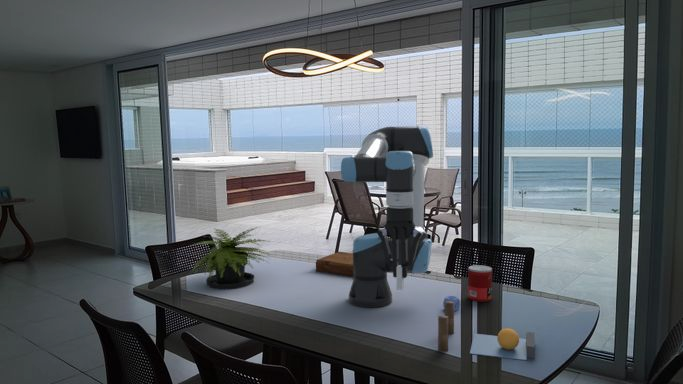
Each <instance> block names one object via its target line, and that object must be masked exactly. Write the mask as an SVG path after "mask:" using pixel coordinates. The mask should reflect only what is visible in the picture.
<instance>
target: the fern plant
mask: <svg viewBox="0 0 683 384" xmlns="http://www.w3.org/2000/svg"><path fill="white" fill-rule="evenodd" d="M259 228H260V227H255V228H250V229H246V231H241V232H240V233H239V234H238V235H235V236H234V237H231V236H230V233H229V232H228V231H225V230H222V229H220V228H214V229H213V230H214V234H217V236H216V237H214V236H205V235H204V238H205V237H208V238H211V239H213V240H206V241H205V240H203V241H200V242H197V243H192V244H190V245H189V247H192V246H196V245H198V246H199V245H206V246H207V245H209V244H210V245H211V244H212V245H215V246H214V247H212V248H209V249H206V250H205V248H204V250H201V251H195V252H193V253H192V254H191V255H194V256H193V257H191V259H193V258H196V254H197V258H199V257H201V258H200V260H197V261H196V262H194V263H193V264H191V265H190V266H189V269H191V268H192V267H193V266H194V267H193V268H192V271H191V272H190V273H189V275H190V274H192V273H193V271H194V270H195V272H194V273H193V275H195V274H196V273H197V272H198V270H199V268H200V269H202V268H203V267H205V269H204V275H206V274H207V272H208V277H207V278H206V286H207V287H209V288H210V289H215V290H235V289H241V288H246V287H248V286H251V285H252V284H254V282H255V275H254V274H252V273H250V272H246V271H245V269H246V266H249V267H250V268H251V269H252V270H253V269H254V265H252V263H251V262H250V260H253V261H255V262H257V263H258V264H260V261H262V262H266V263H267V264H270V262H268V261H267V260H265V259H264V258H267V259H268V260H269V259H270V260H271V258H269V257H268V256H272V254H271V253H268V251H266V250H264V249H260V248H259V247H246V246H245V247H244V246H241V245H245V244H250V243H251V244H255V245H257V246H260V244H259V243H258V242H266V243H267V242H268V243H271V241H270V240H266V239H259V238H254V239H252V238H251V237H253V236H254V234H249V232H252V231H254V230H255V229H259ZM246 238H248V239H246ZM245 239H246V240H245ZM205 253H207V254H206V255H204V254H205ZM258 253H259V254H258ZM202 254H203V255H202ZM262 254H265V255H267V256H265V255H262ZM188 256H190V254H188V255H186V256H184V258H186V257H188ZM261 257H263V258H261ZM214 272H215V273H214Z"/></svg>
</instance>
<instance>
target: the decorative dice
mask: <svg viewBox="0 0 683 384" xmlns="http://www.w3.org/2000/svg"><path fill="white" fill-rule="evenodd" d="M446 301H452V302H454V312H456V311H458V310H459V309H460V305H461V301H460V299H459V298H458V297H457V296H455V295H447V296H446V297H445V298H444V299H443V303H442V305H443V308H444V309H445V302H446Z"/></svg>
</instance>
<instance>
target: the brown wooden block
mask: <svg viewBox="0 0 683 384" xmlns="http://www.w3.org/2000/svg"><path fill="white" fill-rule="evenodd" d="M315 271H316V272H317V273H323V274H329V275H338V276H343V277H344V276H345V277H350V278H354V277H353V252H347V251H346V252H344V251H337V252H334V253H331V254H328V255H327V256H324V257H321V258H318V259H316V261H315Z"/></svg>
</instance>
